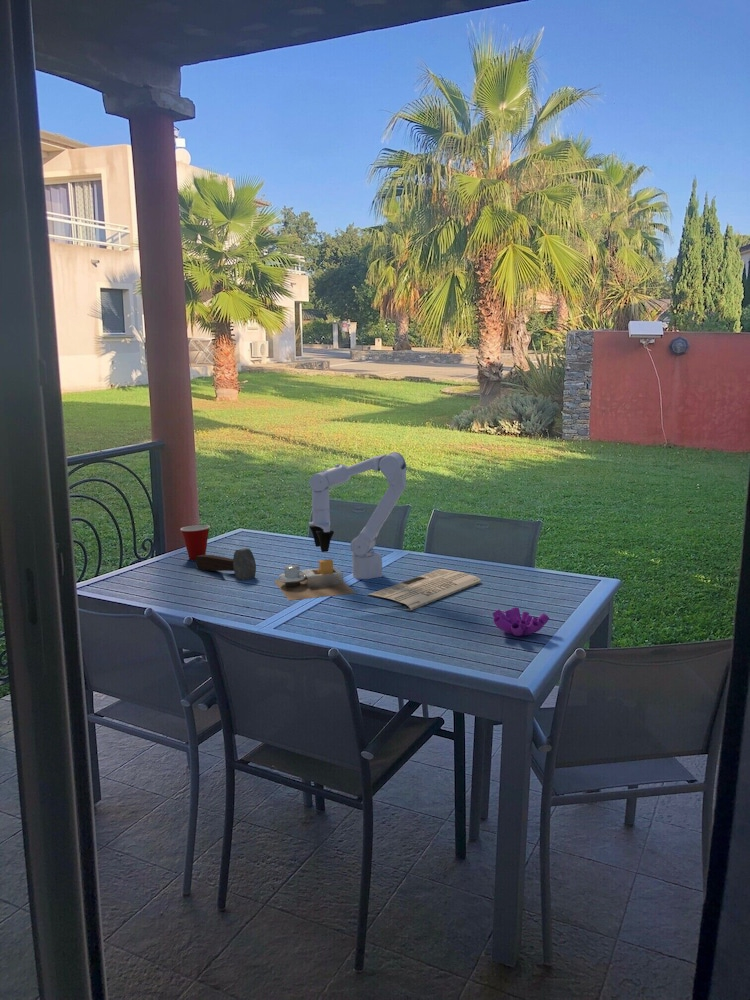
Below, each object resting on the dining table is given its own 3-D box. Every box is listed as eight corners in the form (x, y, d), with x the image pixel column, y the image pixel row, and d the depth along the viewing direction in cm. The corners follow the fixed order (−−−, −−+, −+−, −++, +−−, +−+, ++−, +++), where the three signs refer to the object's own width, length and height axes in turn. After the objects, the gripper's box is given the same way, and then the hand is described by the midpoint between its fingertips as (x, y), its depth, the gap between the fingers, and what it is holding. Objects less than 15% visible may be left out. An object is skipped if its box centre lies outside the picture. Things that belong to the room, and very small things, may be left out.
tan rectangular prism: (331, 580, 256) (331, 559, 255) (333, 582, 254) (332, 561, 252) (319, 581, 255) (318, 560, 253) (321, 583, 252) (320, 562, 251)
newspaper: (437, 575, 268) (437, 567, 267) (485, 585, 255) (485, 577, 255) (365, 601, 241) (365, 592, 240) (415, 614, 228) (415, 605, 227)
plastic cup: (202, 552, 298) (200, 521, 296) (217, 558, 290) (215, 526, 288) (176, 558, 291) (174, 526, 289) (191, 563, 283) (189, 531, 281)
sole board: (336, 578, 263) (336, 574, 262) (356, 597, 242) (356, 593, 242) (274, 585, 256) (274, 580, 256) (289, 605, 236) (288, 600, 235)
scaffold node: (335, 576, 259) (335, 559, 258) (343, 583, 251) (342, 565, 250) (276, 582, 253) (275, 564, 252) (282, 590, 245) (281, 571, 244)
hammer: (195, 578, 277) (245, 584, 256) (191, 547, 276) (241, 550, 255) (207, 576, 280) (257, 581, 259) (203, 545, 279) (253, 548, 258)
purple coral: (539, 654, 205) (529, 632, 199) (489, 641, 214) (478, 619, 208) (556, 620, 210) (547, 597, 204) (507, 608, 220) (497, 587, 214)
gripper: (303, 505, 265) (304, 544, 268) (314, 513, 252) (315, 555, 254) (324, 504, 267) (325, 543, 270) (335, 512, 254) (336, 553, 256)
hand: (321, 548), depth 262 cm, fingers open, 7 cm apart
